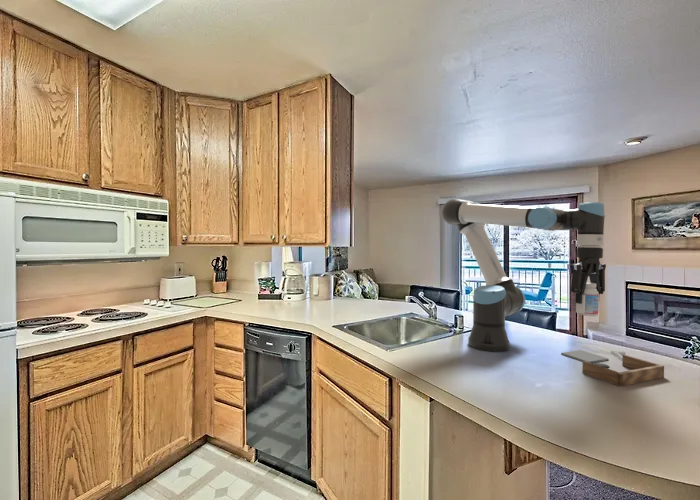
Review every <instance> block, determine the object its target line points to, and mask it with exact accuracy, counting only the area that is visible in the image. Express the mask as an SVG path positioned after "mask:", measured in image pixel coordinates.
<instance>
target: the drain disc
mask: <svg viewBox="0 0 700 500" xmlns="http://www.w3.org/2000/svg"><path fill="white" fill-rule="evenodd" d="M594 364H595V365H598V366H601V367H604V368H607V369H610V365H608V364H605V363H602V362H601V363H600V362H595V363H594Z"/></svg>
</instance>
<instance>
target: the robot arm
mask: <svg viewBox="0 0 700 500" xmlns="http://www.w3.org/2000/svg"><path fill="white" fill-rule="evenodd" d="M441 216H442V219H443V220H444V222H446V223H447V224H449V225H452V226H457V228H458V230H459V233H460V234H462V235H464V236H465V237H466V241H467V243H468V244H469V248H470V249H471V251H472V253H473V256H474V258H475V261H476V263H477V264H478V268H479V269H480V273H481V274H482V276H483V280H484V281H485V283H486V285H481V286H477V287H476V288H475V289H474V291H473V296H472V299H473V308H472V311H473V312H472V313H473V319H472V321H473V323H472V327H471V331H470V335H469V336H468V339H467V340H468V342H467V343H468V345H469V346H470V347H472V348H474V349H477V350H480V351H488V352H505V351H506V352H507V351H509V350H510V345H511V344H510V340H509V338H508V334H507V333H508V332H507V330H506V317H507V316H512V315H515V314H517V313H519V312H520V311H522V309H523V308H524V307H525V304H526V295H525V293H524V291H523V289H521V288H520V287H517V286H516V284H515V283H514V281H513V278H511V277H508V276H507V273H506V272H505V270H504V268H503V266H502V263H501V261H500V259H499V256H498V255H497V252H496V251H495V248H494V246H493V244H492V243H491V240H490V238H489V236H488V234H487V231H486V230H485V225H486V224H489V225H495V226H496V225H497V226H507V227H508V226H510V227H520V228H530V229H537V230H542V231H543V230H544V231H554V232H555V231H577V237H576V245H577V246H578V247H577V248H576V257H577V258H578V259H579V260H578V263H572V264H571V270H572V275H571V285H570V286H571V287H570V292H571V293H573V294H575V313H577V312H578V313H583V314H585V295H583V294H584V290H585V286H586V283H588V278H589V281H590V282H589V283H596V288H595V290H597V291H598V292H599V300H598V313H599V312H600V311H599V310H600V309H599V308H600V299H601V296H600V295H604V292H605V290H606V267H607V266H606V264H605V263H601V261H600V259H602V258H603V257H604V248H602V246H604V234H605V233H604V231H605V229H604V228H605V217H606V215H605V205H604V203H602V202H601V201H600V202H597V201H596V202H595V201H592V202H591V201H590V202H580V203H579V204H578V207H577V208H575V209H559V208H553V207H552V208H551V207H548V206H521V205H506V204H505V205H504V204H503V205H501V204H484V203H483V204H482V203H478V202H476V201H474V200H466V199H461V198H460V199H459V198H452V199H450V200H448V201H447V202H445V203H444V205H443V206H442V209H441ZM578 313H577V314H578Z"/></svg>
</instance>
